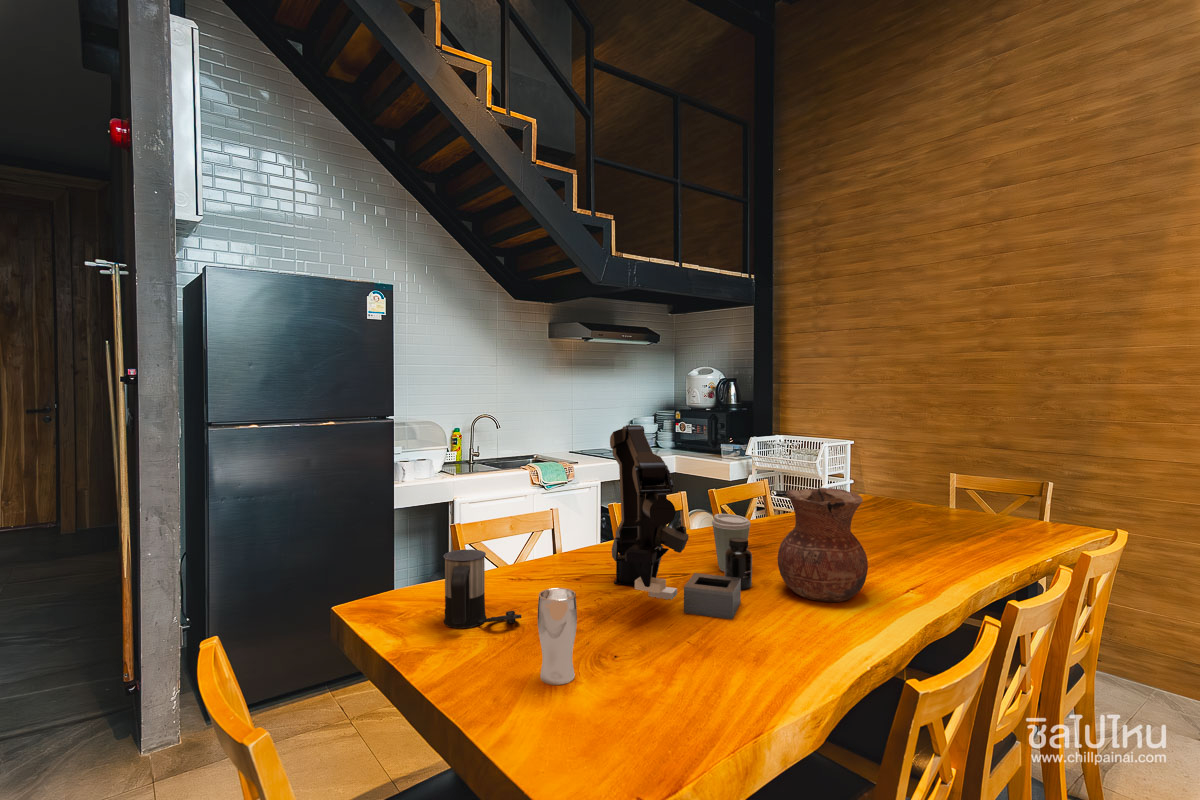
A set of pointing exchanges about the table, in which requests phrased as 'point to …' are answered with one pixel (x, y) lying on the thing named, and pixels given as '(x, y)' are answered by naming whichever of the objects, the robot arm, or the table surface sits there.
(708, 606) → the grey hollow block
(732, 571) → the supplement bottle
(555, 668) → the beer glass
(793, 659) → the table surface
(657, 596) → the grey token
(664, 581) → the block
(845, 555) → the brown clay vase
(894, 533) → the table surface
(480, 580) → the milk frother
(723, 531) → the disposable coffee cup
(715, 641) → the table surface
